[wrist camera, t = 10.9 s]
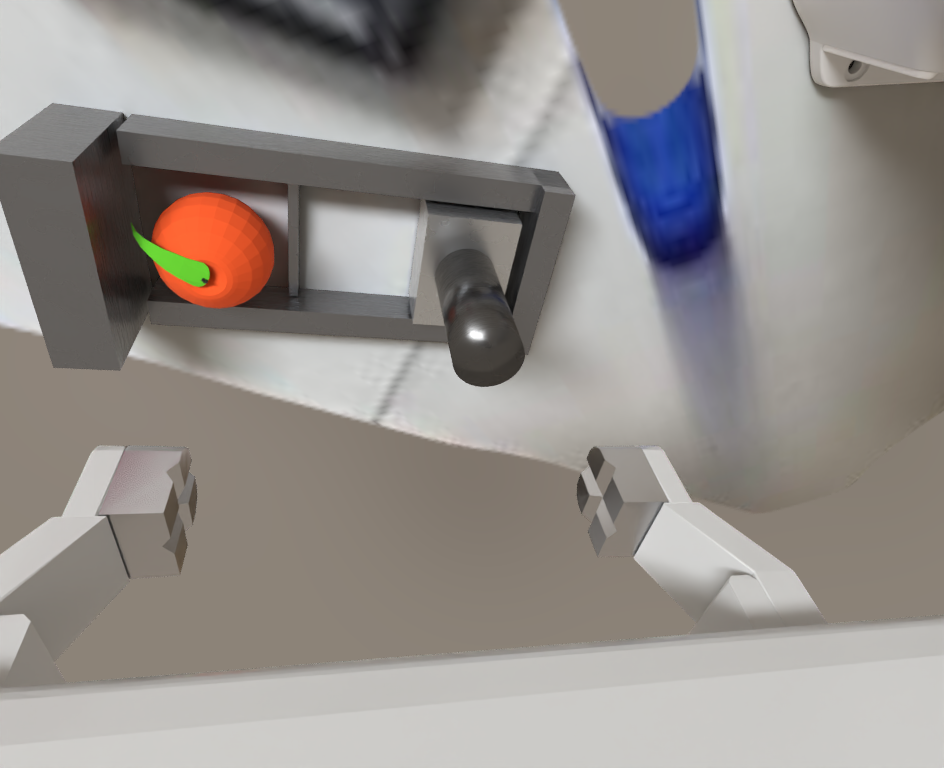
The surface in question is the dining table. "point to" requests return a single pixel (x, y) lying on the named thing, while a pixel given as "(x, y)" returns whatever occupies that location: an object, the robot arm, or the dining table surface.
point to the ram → (468, 286)
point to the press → (243, 156)
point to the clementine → (211, 250)
